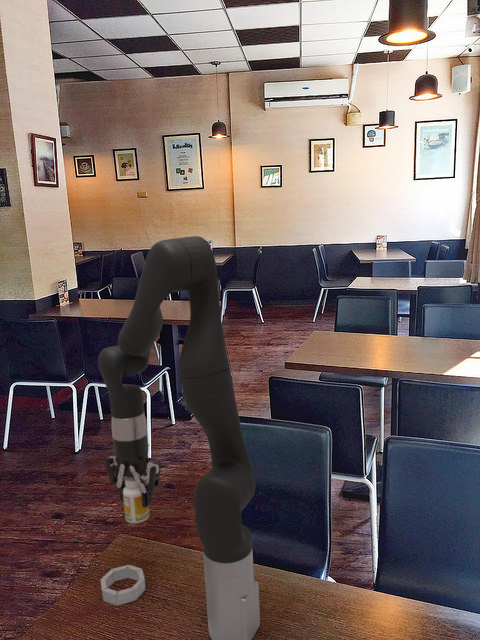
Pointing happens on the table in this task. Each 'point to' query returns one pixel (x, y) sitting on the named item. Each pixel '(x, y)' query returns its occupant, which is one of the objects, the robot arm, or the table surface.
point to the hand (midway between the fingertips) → (136, 503)
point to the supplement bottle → (134, 502)
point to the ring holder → (126, 594)
